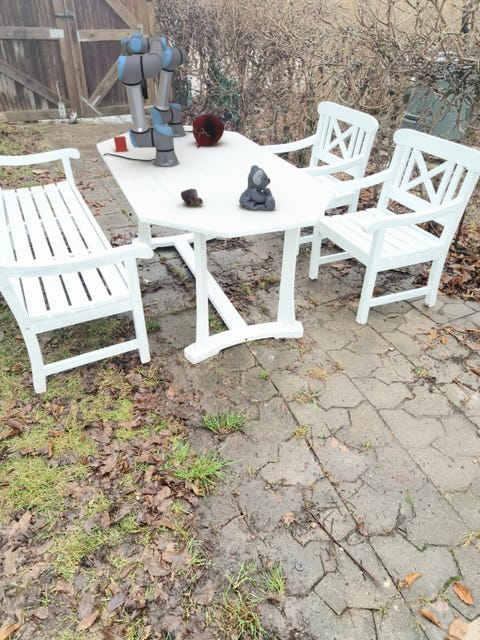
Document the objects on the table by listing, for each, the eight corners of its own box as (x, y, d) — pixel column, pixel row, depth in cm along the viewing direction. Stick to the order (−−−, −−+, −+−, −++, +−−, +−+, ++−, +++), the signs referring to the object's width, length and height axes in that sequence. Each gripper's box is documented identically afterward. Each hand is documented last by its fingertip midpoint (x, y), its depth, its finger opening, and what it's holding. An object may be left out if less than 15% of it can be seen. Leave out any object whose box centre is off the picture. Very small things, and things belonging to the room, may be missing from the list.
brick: (127, 151, 322) (125, 137, 317) (116, 152, 320) (114, 138, 315) (126, 149, 326) (124, 136, 321) (115, 150, 324) (113, 136, 319)
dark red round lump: (190, 120, 341) (188, 116, 317) (221, 113, 340) (220, 109, 316) (197, 149, 348) (195, 148, 324) (227, 142, 347) (227, 141, 323)
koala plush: (276, 211, 223) (277, 171, 212) (240, 212, 222) (240, 172, 211) (271, 199, 237) (272, 161, 226) (237, 200, 236) (237, 162, 225)
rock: (196, 202, 238) (178, 205, 233) (194, 185, 234) (176, 188, 230) (205, 205, 228) (187, 208, 224) (203, 188, 224) (185, 191, 220)
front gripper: (149, 62, 282) (153, 100, 294) (142, 60, 301) (146, 95, 313) (138, 63, 280) (142, 100, 291) (130, 60, 299) (135, 96, 311)
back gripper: (135, 63, 337) (139, 94, 349) (131, 60, 356) (135, 90, 368) (125, 63, 335) (129, 95, 347) (121, 61, 354) (125, 91, 366)
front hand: (144, 98), depth 302 cm, fingers open, 13 cm apart
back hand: (132, 92), depth 357 cm, fingers open, 13 cm apart
